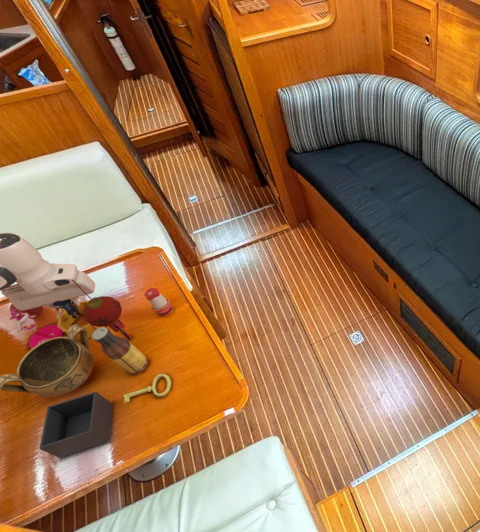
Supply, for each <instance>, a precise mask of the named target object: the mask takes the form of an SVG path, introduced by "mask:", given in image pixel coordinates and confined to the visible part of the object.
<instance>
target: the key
mask: <svg viewBox="0 0 480 532" xmlns="http://www.w3.org/2000/svg"><path fill="white" fill-rule="evenodd" d="M161 378H164V379H165V380H166V387H165V390H164V391H163V392H161V393H159V392H157V382H158V381H159V379H161ZM171 387H172V380H171V377H170V376H169V375H167V374H166V373H159V374H157V375H156V376H155V377H154V378H153V380H152V385H147V387H145V388H141V389H138V390H135V391H132V392H129V393H126V394H123V398H124V403H125V404H127V403H130V401H131V397H135V396H139V395H143V394H144V393H145V394H146V393H151V392H152V393H153V394H154V395H155V396H156V397H158V398H163V397H166V395H168V394H169V392H170V390H171Z"/></svg>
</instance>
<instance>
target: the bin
mask: <svg viewBox="0 0 480 532" xmlns="http://www.w3.org/2000/svg"><path fill="white" fill-rule="evenodd" d="M113 404H114V403H112V402H111V401H110V400H108V399H107V398H105V397H104V396H103V395H102V394H100V393H99V392H98V391H93V392H89V393H86V394H84V395H80V396H76V397H74V398H71V399H70V398H69V399H68V400H64V401H61V402H58V403H54V404H52V405H48V406H47V408H46V414H45V418H44V422H43V423H44V424H43V429H42V433H41V438H40V442H39V448H38V449H39V450H41V451H43V452H46V453H47V454H49V455H52V456H54V457H56V458H59V459H60V460H61V459H62V460H63V459H65V458H67V457H70V456H73V455H77V454H79V453H82V452H85V451H88V450H91V449H94V448H96V447H99V446H100V447H101V446H103V445H105V444H108V443H110V439H111V427H112V416H113V415H112V414H113Z"/></svg>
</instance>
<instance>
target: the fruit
mask: <svg viewBox="0 0 480 532" xmlns="http://www.w3.org/2000/svg"><path fill="white" fill-rule="evenodd" d="M14 309H15V310H18V309H17V308H16V307H15V306H14V305H13V304H12V303H11V304H10V306H9V311H10V313H11V311H12V310H14ZM18 311H20V312H24V313H28V314H29V315H30V316H34V315H36V317H35V316H34V318H30V319H34V320H36V319H37V318H38V317H40V316H41V315H42V314H43V312H44V307H43V306H40V307H36V308H32V309H28V310H18ZM28 318H29V317H28Z"/></svg>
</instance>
